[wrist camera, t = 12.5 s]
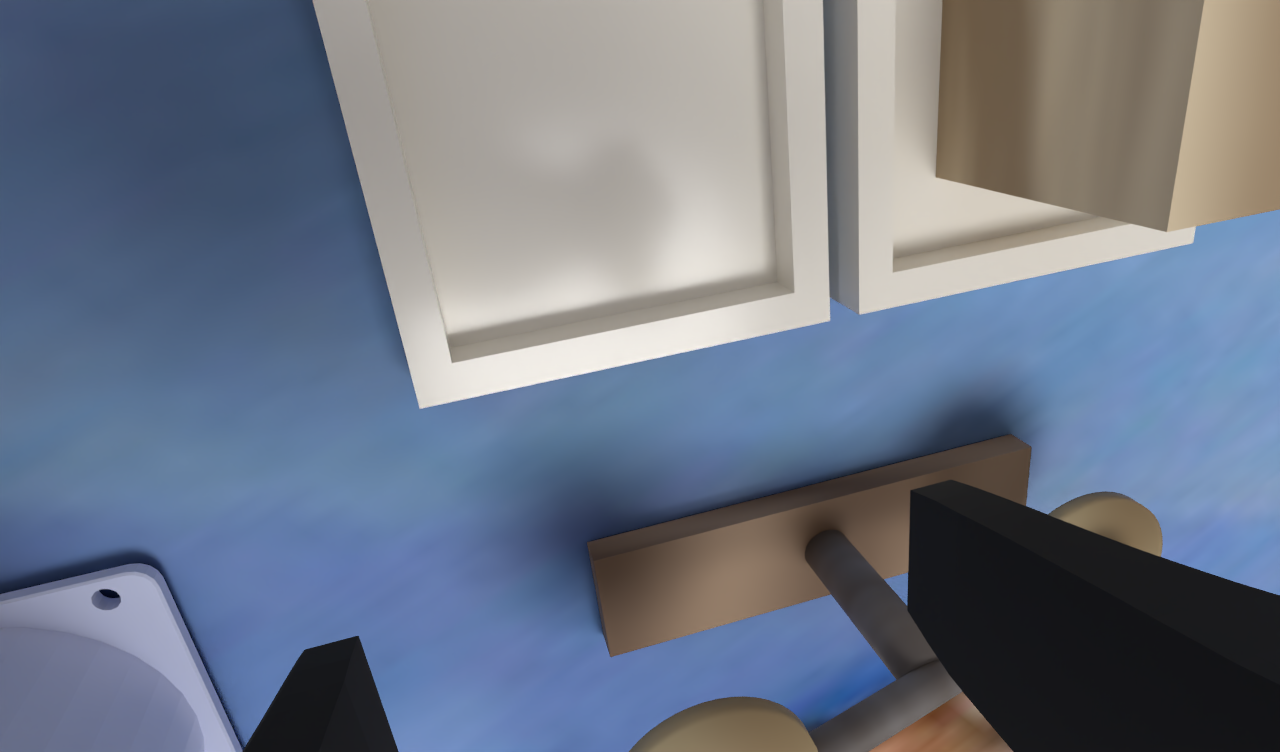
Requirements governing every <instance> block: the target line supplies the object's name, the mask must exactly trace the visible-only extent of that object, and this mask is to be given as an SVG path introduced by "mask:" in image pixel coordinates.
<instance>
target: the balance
mask: <svg viewBox="0 0 1280 752" xmlns="http://www.w3.org/2000/svg"><path fill="white" fill-rule="evenodd" d="M1030 458H1031V446H1029V445H1028V444H1026V443H1024V442H1023V441H1021V440H1020V439H1018V438H1017V437H1015V436H1014V435H1012V434H1009V435H1005V436H1001V437H997V438H994V439H990V440H986V441H982V442H978V443H974V444H970V445H966V446H962V447H958V448H954V449H951V450H947V451H943V452H939V453H935V454H931V455H927V456H923V457H919V458H915V459H911V460H907V461H904V462H900V463H896V464H892V465H888V466H884V467H880V468H876V469H872V470H868V471H864V472H860V473H857V474H853V475H849V476H845V477H841V478H837V479H833V480H829V481H825V482H821V483H817V484H814V485H810V486H806V487H802V488H798V489H794V490H790V491H786V492H782V493H778V494H774V495H770V496H767V497H763V498H759V499H755V500H751V501H747V502H743V503H739V504H735V505H731V506H727V507H724V508H720V509H716V510H712V511H708V512H704V513H700V514H696V515H692V516H688V517H684V518H680V519H677V520H673V521H669V522H665V523H661V524H657V525H653V526H649V527H645V528H641V529H637V530H634V531H630V532H626V533H622V534H618V535H614V536H610V537H606V538H602V539H598V540H594V541H590V542H587V545H588V550H589V556H590V562H591V567H592V573H593V578H594V584H595V590H596V595H597V601H598V606H599V612H600V617H601V623H602V629H603V634H604V638H605V641H606V644H607V648H608V651H609V654H610V657H613V656H616V655H620V654H623V653H627V652H630V651H634V650H637V649H641V648H644V647H648V646H651V645H655V644H658V643H662V642H665V641H669V640H672V639H676V638H679V637H683V636H686V635H690V634H693V633H697V632H700V631H704V630H707V629H711V628H714V627H718V626H721V625H725V624H728V623H732V622H735V621H739V620H742V619H746V618H749V617H753V616H756V615H760V614H763V613H767V612H770V611H774V610H777V609H781V608H785V607H788V606H792V605H795V604H799V603H802V602H806V601H809V600H813V599H816V598H820V597H823V596H827V595H830V594H831V595H832V596H833V597H834V598H835V600H836V601H837V602H838V604H839V605H840V606H841V608H842V609H843V610H844V612H845V613H846V614H847V615H848V617H849V618H850V619H851V621H852V622H853V623H854V625H855V626H856V627H857V629H858V630H859V631H860V632H861V634H862V635H863V636H864V638H865V639H866V640H867V642H868V643H869V644H870V646H871V647H872V648H873V650H874V651H875V652H876V653H877V655H878V656H879V657H880V659H881V660H882V661H883V663H884V664H885V665H886V667H887V668H888V669H889V670H890V672H891V673H892V674H893V676H894V677H895V678H896V681H894V682H893V683H891V684H889V685H888V686H886V687H884V688H883V689H881V690H879V691H878V692H876V693H874V694H873V695H871V696H869V697H868V698H866V699H864V700H863V701H861V702H859V703H858V704H856V705H854V706H853V707H851V708H849V709H848V710H846V711H844V712H843V713H841V714H839V715H838V716H836V717H834V718H833V719H831V720H829V721H828V722H826V723H824V724H823V725H821V726H819V727H818V728H816V729H814V730H813V731H811V732H809V733H808V731H807V730H806V728H805V726H804V725H803V723H802V722H801V720H800V719H799V718H798V717H797V716H796V715H795V714H794V713H793V712H791V711H790V710H789V709H787V708H785V707H784V706H782V705H780V704H778V703H775V702H772V701H770V700H766V699H761V698H755V697H729V698H722V699H716V700H712V701H708V702H704V703H701V704H698V705H695V706H692V707H690V708H687V709H685V710H683V711H681V712H679V713H677V714H675V715H673V716H671V717H670V718H668V719H666V720H664V721H663V722H661V723H660V724H659V725H657V726H656V727H654V728H653V729H652V730H650V731H649V732H648V733H647V734H646V735H645V736H643V737H642V738H641V739H640V740H639V741H638V742H637V743H636V744H635V745H634V746H633V747H632V749H631V750H630V751H629V752H868V751H870V750H872V749H873V748H875V747H876V746H878V745H879V744H881V743H883V742H884V741H886V740H887V739H889V738H890V737H892V736H893V735H895V734H897V733H898V732H900V731H901V730H903V729H904V728H906V727H908V726H909V725H911V724H912V723H914V722H915V721H917V720H919V719H920V718H922V717H923V716H925V715H926V714H928V713H930V712H931V711H933V710H934V709H936V708H937V707H939V706H940V705H942V704H944V703H945V702H947V701H948V700H950V699H951V698H953V697H955V696H956V695H958V694H959V693H961V692H962V690H961V689H960V688H959V686H958V685H957V684H956V683H955V681H954V680H953V679H952V678H951V677H950V675H949V674H948V672H947V671H946V669H945V668H944V666H943V665H942V663H941V662H940V661H939V659H938V658H937V656H936V655H935V653H934V652H933V650H932V649H931V647H930V646H929V644H928V643H927V641H926V639H925V638H924V636H923V635H922V633H921V631H920V630H919V628H918V627H917V625H916V624H915V622H914V620H913V619H912V617H911V616H910V614H909V612H908V611H907V605H906V604H905V603H904V602H903V601H902V600H901V599H900V597H899V596H898V595H897V594H896V593H895V592H894V591H893V590H892V588H891V587H890V586H889V585H888V584H887V583H886V582H885V581H884V579H886V578H890V577H893V576H897V575H900V574H904V573H907V572H908V565H909V525H910V490H913V489H917V488H921V487H924V486H928V485H932V484H936V483H939V482H943V481H947V480H954V481H957V482H961V483H964V484H967V485H970V486H973V487H976V488H979V489H982V490H984V491H987V492H990V493H993V494H995V495H998V496H1001V497H1003V498H1006V499H1009V500H1011V501H1014V502H1016V503H1019V504H1022V505H1024V506H1026V499H1027V489H1028V478H1029V468H1030ZM1048 515H1050V516H1052V517H1055V518H1058V519H1060V520H1063V521H1065V522H1068V523H1071V524H1073V525H1076V526H1078V527H1081V528H1084V529H1086V530H1089V531H1091V532H1094V533H1097V534H1099V535H1102V536H1105V537H1107V538H1110V539H1113V540H1115V541H1118V542H1121V543H1123V544H1126V545H1129V546H1131V547H1134V548H1137V549H1140V550H1142V551H1145V552H1148V553H1151V554H1154V555H1156V556H1159V557H1161V553H1162V533H1161V528H1160V525H1159V523H1158V521H1157V519H1156V517H1155V516H1154V515H1153V514H1152V512H1151V511H1150V510H1148V509H1147V508H1145V507H1144V506H1142V505H1141V504H1139V503H1138V502H1136V501H1134V500H1133V499H1131V498H1130V497H1128V496H1125V495H1123V494H1120V493H1115V492H1096V493H1091V494H1086V495H1083V496H1080V497H1077V498H1075V499H1073V500H1071V501H1069V502H1066V503H1065V504H1063V505H1061V506H1060V507H1058V508H1056V509H1055V510H1053V511H1052V512H1051V513H1049V514H1048Z"/></svg>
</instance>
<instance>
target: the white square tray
mask: <svg viewBox="0 0 1280 752" xmlns="http://www.w3.org/2000/svg"><path fill="white" fill-rule="evenodd" d="M313 4H314V8H315V12H316V15H317V19H318V23H319V27H320V31H321V34H322V38H323V42H324V46H325V50H326V53H327V57H328V61H329V65H330V69H331V72H332V76H333V80H334V84H335V88H336V92H337V95H338V99H339V103H340V107H341V111H342V114H343V118H344V122H345V126H346V130H347V133H348V137H349V141H350V145H351V149H352V152H353V156H354V160H355V164H356V168H357V171H358V175H359V179H360V183H361V187H362V190H363V194H364V198H365V202H366V206H367V209H368V213H369V217H370V221H371V225H372V228H373V232H374V236H375V240H376V244H377V248H378V251H379V255H380V259H381V263H382V267H383V270H384V274H385V278H386V282H387V286H388V289H389V293H390V297H391V301H392V305H393V308H394V312H395V316H396V320H397V324H398V327H399V331H400V335H401V339H402V343H403V346H404V350H405V354H406V358H407V362H408V365H409V369H410V373H411V377H412V381H413V384H414V388H415V392H416V396H417V400H418V404H419V407H420V409H421V408H426V407H431V406H435V405H440V404H445V403H449V402H454V401H459V400H463V399H468V398H473V397H477V396H482V395H487V394H491V393H496V392H501V391H505V390H510V389H515V388H519V387H524V386H529V385H533V384H538V383H543V382H547V381H552V380H557V379H561V378H566V377H571V376H575V375H580V374H585V373H589V372H594V371H599V370H603V369H608V368H613V367H617V366H622V365H627V364H631V363H636V362H641V361H645V360H650V359H655V358H659V357H664V356H669V355H673V354H678V353H683V352H687V351H692V350H697V349H701V348H706V347H711V346H715V345H720V344H725V343H729V342H734V341H739V340H743V339H748V338H753V337H757V336H762V335H767V334H771V333H776V332H781V331H785V330H790V329H795V328H799V327H804V326H809V325H813V324H818V323H823V322H827V321H830V297H829V252H828V207H827V162H826V117H825V72H824V27H823V0H313Z"/></svg>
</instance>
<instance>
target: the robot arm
mask: <svg viewBox="0 0 1280 752" xmlns="http://www.w3.org/2000/svg"><path fill="white" fill-rule="evenodd" d="M101 589H110V590H113V591H116V592H117V593H118V594H119V595H120V597H119V598H108V597H105V596H103V595H102V594H101V593H100V592H99V590H101ZM907 611H908V612H909V614H910V616H911V617H912V619H913V620H914V622H915V624H916V625H917V627H918V628H919V630H920V631H921V633H922V635H923V636H924V638H925V639H926V641H927V643H928V644H929V646H930V647H931V649H932V650H933V652H934V653H935V655H936V656H937V658H938V659H939V661H940V662H941V663H942V665H943V666H944V668H945V669H946V671H947V672H948V674H949V675H950V677H951V678H952V679H953V680H954V681H955V683H956V684H957V685H958V686H959V688H960V689H961V690H962V691H963V692H964V694H965V695H966V696H967V697H968V698H969V700H970V701H971V702H972V703H973V704H974V706H975V707H976V708H977V709H978V710H979V711H980V713H981V714H982V715H983V716H984V717H985V719H986V720H987V721H988V722H989V723H990V725H991V726H992V727H993V728H994V729H995V730H996V732H997V733H998V734H999V735H1000V736H1001V737H1002V739H1003V740H1004V741H1005V742H1006V743H1007V744H1008V746H1009V747H1010V748H1011V749H1012V750H1013V751H1014V752H1280V595H1276V594H1273V593H1269V592H1266V591H1263V590H1259V589H1256V588H1253V587H1249V586H1246V585H1243V584H1240V583H1237V582H1233V581H1230V580H1227V579H1224V578H1221V577H1218V576H1215V575H1212V574H1209V573H1206V572H1203V571H1200V570H1197V569H1194V568H1191V567H1188V566H1185V565H1182V564H1179V563H1176V562H1173V561H1170V560H1168V559H1165V558H1162V557H1159V556H1156V555H1154V554H1151V553H1148V552H1145V551H1142V550H1140V549H1137V548H1134V547H1131V546H1129V545H1126V544H1123V543H1121V542H1118V541H1115V540H1113V539H1110V538H1107V537H1105V536H1102V535H1099V534H1097V533H1094V532H1091V531H1089V530H1086V529H1084V528H1081V527H1078V526H1076V525H1073V524H1071V523H1068V522H1065V521H1063V520H1060V519H1058V518H1055V517H1052V516H1050V515H1047V514H1045V513H1042V512H1040V511H1037V510H1034V509H1032V508H1029V507H1027V506H1024V505H1022V504H1019V503H1016V502H1014V501H1011V500H1009V499H1006V498H1003V497H1001V496H998V495H995V494H993V493H990V492H987V491H984V490H982V489H979V488H976V487H973V486H970V485H967V484H964V483H961V482H957V481H954V480H947V481H943V482H939V483H936V484H932V485H928V486H924V487H921V488H917V489H913V490H910V525H909V565H908V606H907ZM0 752H398V749H397V746H396V743H395V740H394V737H393V735H392V732H391V729H390V726H389V723H388V720H387V717H386V714H385V711H384V708H383V706H382V703H381V700H380V697H379V694H378V691H377V688H376V685H375V682H374V679H373V676H372V674H371V671H370V668H369V665H368V662H367V659H366V656H365V653H364V650H363V647H362V645H361V642H360V639H359V636H355V637H351V638H348V639H344V640H340V641H336V642H332V643H329V644H325V645H321V646H317V647H313V648H310V649H306V650H304V651H303V653H302V654H301V656H300V657H299V658H298V660H297V661H296V663H295V665H294V666H293V668H292V670H291V671H290V673H289V675H288V676H287V678H286V680H285V681H284V683H283V685H282V686H281V688H280V690H279V692H278V693H277V695H276V697H275V698H274V700H273V702H272V703H271V705H270V707H269V708H268V710H267V712H266V713H265V715H264V717H263V718H262V720H261V722H260V723H259V725H258V727H257V728H256V730H255V732H254V733H253V735H252V737H251V738H250V740H249V742H248V743H247V745H246V747H245V748H244V750H242V748H241V746H240V744H239V741H238V739H237V737H236V735H235V733H234V731H233V728H232V726H231V724H230V722H229V720H228V717H227V715H226V713H225V711H224V709H223V707H222V704H221V702H220V700H219V698H218V696H217V693H216V691H215V689H214V687H213V685H212V682H211V680H210V678H209V676H208V674H207V672H206V669H205V667H204V665H203V663H202V661H201V658H200V656H199V654H198V652H197V650H196V648H195V645H194V643H193V641H192V639H191V637H190V634H189V632H188V630H187V628H186V626H185V623H184V621H183V619H182V617H181V615H180V613H179V610H178V608H177V606H176V604H175V602H174V599H173V597H172V595H171V593H170V591H169V589H168V586H167V584H166V582H165V580H164V578H163V576H162V575H161V574H160V572H159V571H158V570H157V569H155V568H153V567H152V566H150V565H145V564H141V563H135V564H127V565H122V566H118V567H114V568H110V569H105V570H101V571H97V572H93V573H88V574H84V575H80V576H76V577H71V578H67V579H63V580H59V581H54V582H50V583H46V584H42V585H37V586H33V587H29V588H24V589H20V590H16V591H12V592H7V593H3V594H0Z"/></svg>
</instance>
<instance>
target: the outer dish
mask: <svg viewBox="0 0 1280 752" xmlns="http://www.w3.org/2000/svg"><path fill="white" fill-rule="evenodd" d="M941 26H942V0H823V27H824V72H825V117H826V162H827V207H828V252H829V297H830V298H832V299H834V300H835V301H837V302H839V303H841V304H842V305H844V306H846V307H847V308H849V309H851V310H852V311H854V312H856V313H857V314H859V315H860V314H865V313H869V312H874V311H879V310H883V309H888V308H892V307H897V306H902V305H906V304H911V303H916V302H920V301H925V300H930V299H934V298H939V297H944V296H948V295H953V294H958V293H962V292H967V291H972V290H976V289H981V288H986V287H990V286H995V285H1000V284H1004V283H1009V282H1014V281H1018V280H1023V279H1028V278H1032V277H1037V276H1042V275H1046V274H1051V273H1056V272H1060V271H1065V270H1070V269H1074V268H1079V267H1084V266H1088V265H1093V264H1098V263H1102V262H1107V261H1112V260H1116V259H1121V258H1126V257H1130V256H1135V255H1140V254H1144V253H1149V252H1154V251H1158V250H1163V249H1168V248H1172V247H1177V246H1182V245H1186V244H1191V243H1193V240H1194V234H1195V228H1196V226H1195V227H1190V228H1185V229H1180V230H1175V231H1170V232H1164V231H1160V230H1155V229H1151V228H1147V227H1143V226H1139V225H1134V224H1130V223H1126V222H1122V221H1118V220H1113V219H1109V218H1105V217H1101V216H1096V215H1092V214H1088V213H1084V212H1080V211H1075V210H1071V209H1067V208H1063V207H1059V206H1054V205H1050V204H1046V203H1042V202H1037V201H1033V200H1029V199H1025V198H1021V197H1016V196H1012V195H1008V194H1004V193H1000V192H995V191H991V190H987V189H983V188H979V187H974V186H970V185H966V184H962V183H957V182H953V181H949V180H945V179H941V178H936V155H937V129H938V103H939V77H940V52H941Z"/></svg>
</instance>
